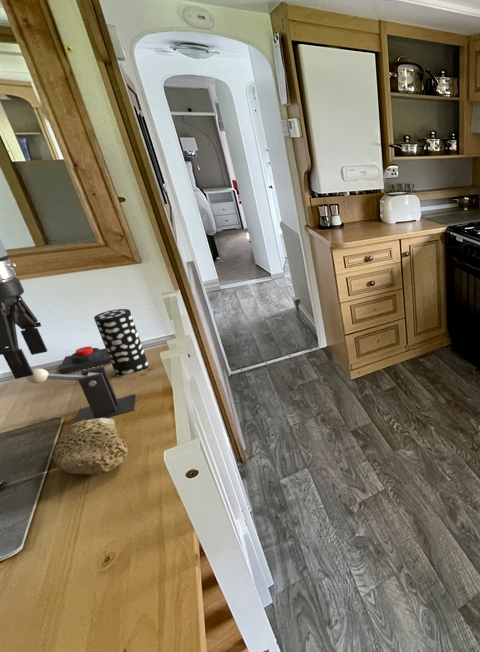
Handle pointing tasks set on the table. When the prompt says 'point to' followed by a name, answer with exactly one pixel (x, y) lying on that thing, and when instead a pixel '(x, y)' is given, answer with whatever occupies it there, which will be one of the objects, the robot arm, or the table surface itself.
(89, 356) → the red push button box
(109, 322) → the white-spotted black cylinder
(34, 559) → the table surface
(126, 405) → the lever base
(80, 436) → the sponge
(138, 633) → the table surface
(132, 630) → the table surface
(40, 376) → the switch lever
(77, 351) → the power button
